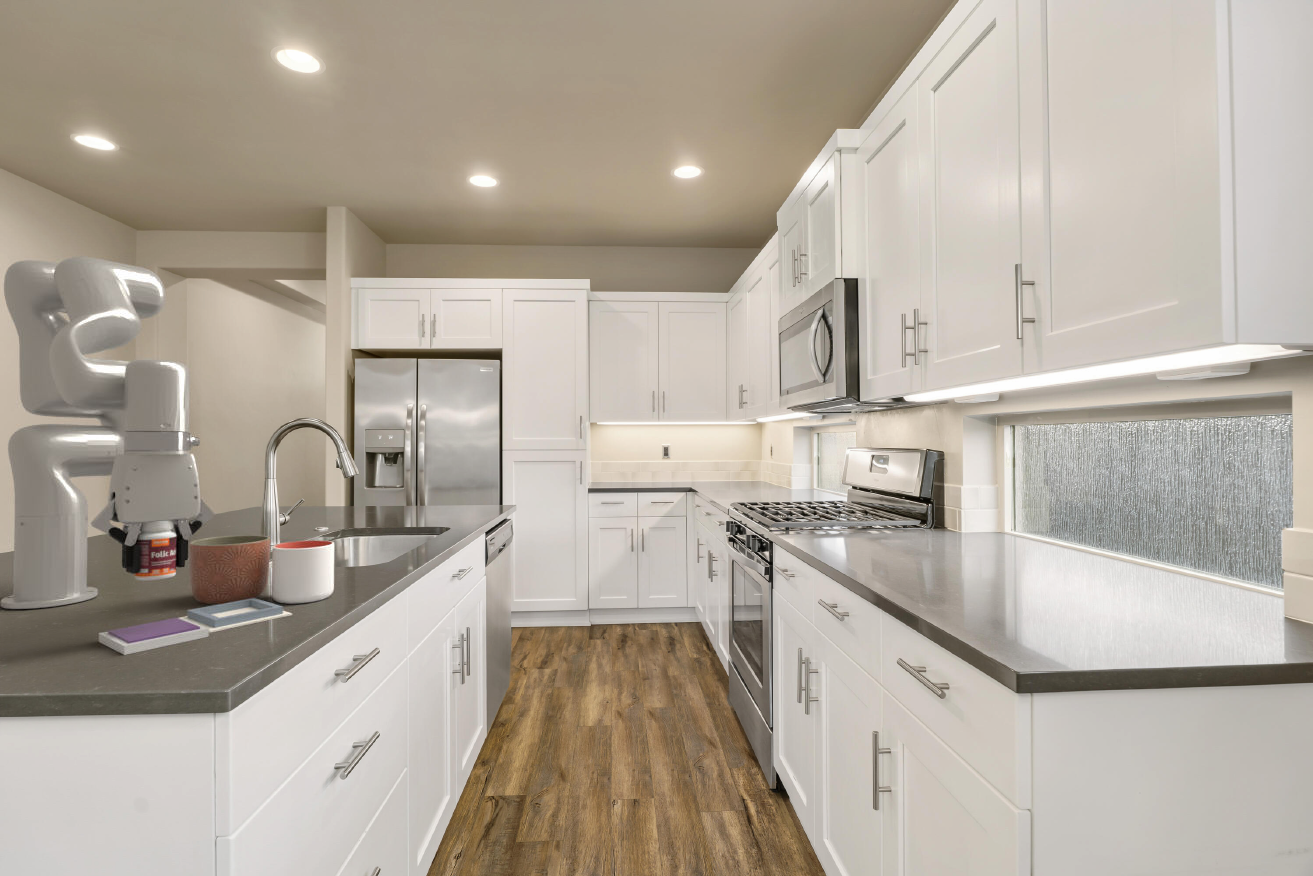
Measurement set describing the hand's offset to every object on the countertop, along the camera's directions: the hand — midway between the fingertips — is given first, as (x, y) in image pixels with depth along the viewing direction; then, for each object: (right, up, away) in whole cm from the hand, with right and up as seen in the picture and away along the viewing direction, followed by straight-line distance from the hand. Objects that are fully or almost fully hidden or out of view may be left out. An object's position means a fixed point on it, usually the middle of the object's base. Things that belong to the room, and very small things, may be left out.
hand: (155, 568), depth 93 cm
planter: (-5, -11, +24) cm, 26 cm away
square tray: (+4, -10, +12) cm, 16 cm away
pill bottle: (0, -2, 0) cm, 2 cm away
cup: (+8, -11, +25) cm, 28 cm away
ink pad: (0, -10, 0) cm, 10 cm away
